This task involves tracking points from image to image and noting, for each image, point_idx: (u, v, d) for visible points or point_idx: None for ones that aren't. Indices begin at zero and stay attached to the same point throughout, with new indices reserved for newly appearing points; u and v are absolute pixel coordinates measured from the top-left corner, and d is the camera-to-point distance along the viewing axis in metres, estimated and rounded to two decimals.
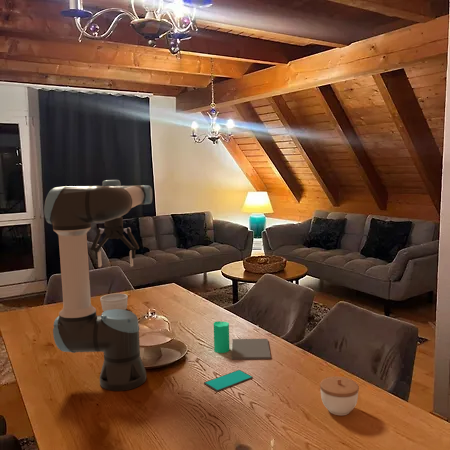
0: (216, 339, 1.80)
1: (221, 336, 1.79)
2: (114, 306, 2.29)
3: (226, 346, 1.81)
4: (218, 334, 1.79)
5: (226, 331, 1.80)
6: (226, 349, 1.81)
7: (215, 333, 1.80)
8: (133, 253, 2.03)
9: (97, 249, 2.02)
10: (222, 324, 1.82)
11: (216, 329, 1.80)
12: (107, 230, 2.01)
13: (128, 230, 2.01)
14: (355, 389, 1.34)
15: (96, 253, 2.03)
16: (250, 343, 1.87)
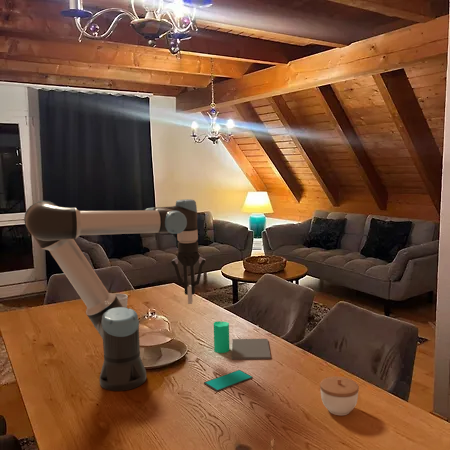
0: (216, 339, 1.80)
1: (221, 336, 1.79)
2: None
3: (226, 346, 1.81)
4: (218, 334, 1.79)
5: (226, 331, 1.80)
6: (226, 349, 1.81)
7: (215, 333, 1.80)
8: (193, 288, 1.80)
9: (186, 283, 1.79)
10: (222, 324, 1.82)
11: (216, 329, 1.80)
12: (180, 256, 1.78)
13: (203, 262, 1.78)
14: (355, 389, 1.34)
15: (185, 288, 1.80)
16: (250, 343, 1.87)
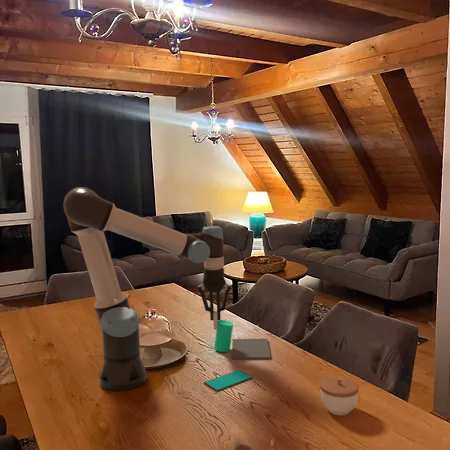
0: (218, 337, 1.80)
1: (224, 335, 1.79)
2: None
3: (227, 346, 1.81)
4: (221, 332, 1.79)
5: (229, 331, 1.80)
6: (226, 349, 1.81)
7: (218, 331, 1.80)
8: (219, 314, 1.81)
9: (212, 309, 1.80)
10: (226, 323, 1.82)
11: (220, 327, 1.80)
12: (206, 282, 1.79)
13: (229, 288, 1.79)
14: (355, 389, 1.34)
15: (211, 314, 1.81)
16: (250, 343, 1.87)
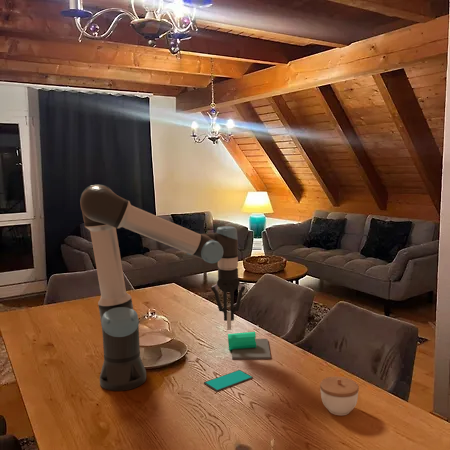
0: (241, 337, 1.81)
1: (245, 343, 1.80)
2: None
3: (234, 348, 1.81)
4: (247, 340, 1.80)
5: (250, 347, 1.81)
6: (231, 348, 1.81)
7: (247, 336, 1.81)
8: (232, 315, 1.81)
9: (225, 309, 1.80)
10: (254, 340, 1.83)
11: (251, 337, 1.80)
12: (220, 282, 1.79)
13: (243, 289, 1.79)
14: (355, 389, 1.34)
15: (225, 314, 1.81)
16: None
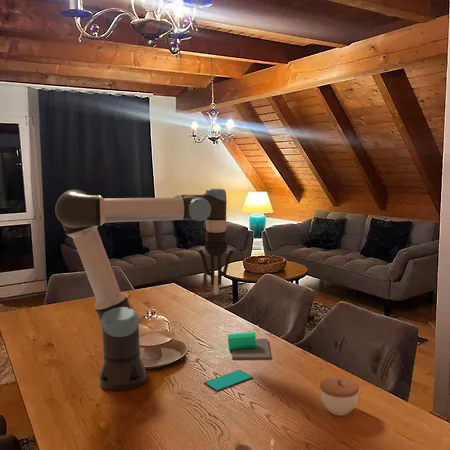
0: (241, 337, 1.81)
1: (245, 343, 1.80)
2: None
3: (234, 348, 1.81)
4: (247, 340, 1.80)
5: (250, 347, 1.81)
6: (231, 348, 1.81)
7: (247, 336, 1.81)
8: (220, 279, 1.78)
9: (212, 273, 1.77)
10: (254, 340, 1.83)
11: (251, 337, 1.80)
12: (208, 245, 1.76)
13: (231, 252, 1.76)
14: (355, 389, 1.34)
15: (212, 278, 1.78)
16: None
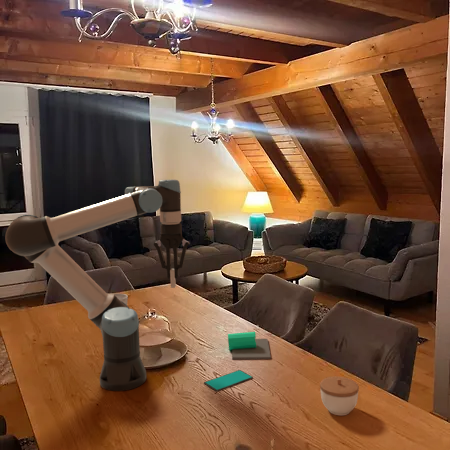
0: (241, 337, 1.81)
1: (245, 343, 1.80)
2: None
3: (234, 348, 1.81)
4: (247, 340, 1.80)
5: (250, 347, 1.81)
6: (231, 348, 1.81)
7: (247, 336, 1.81)
8: (176, 272, 1.74)
9: (168, 266, 1.73)
10: (254, 340, 1.83)
11: (251, 337, 1.80)
12: (163, 238, 1.72)
13: (186, 244, 1.72)
14: (355, 389, 1.34)
15: (168, 271, 1.74)
16: None
